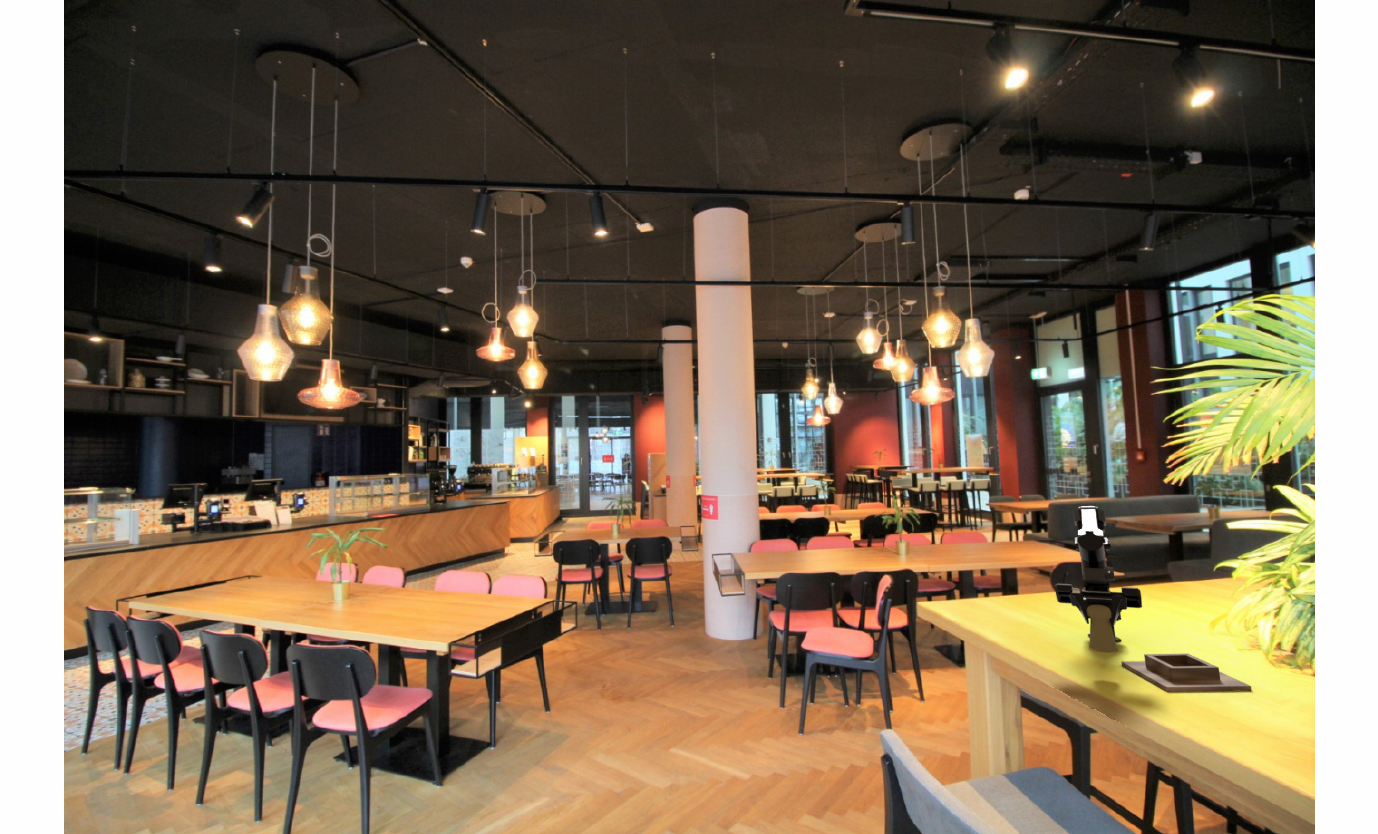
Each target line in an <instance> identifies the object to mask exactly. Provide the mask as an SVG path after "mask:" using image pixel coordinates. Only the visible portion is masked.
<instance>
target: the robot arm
mask: <svg viewBox="0 0 1378 834" xmlns="http://www.w3.org/2000/svg"><path fill="white" fill-rule="evenodd" d="M1105 512H1106V511H1104V510H1101V509H1099V508H1098V506H1093V505H1087V506H1082V505H1081V506H1078V509H1076V510H1074V511H1073V522H1074V526H1075V527H1077V537H1076V536H1075V537H1074V546H1075V547H1074V548H1075V550H1079V551H1078V552H1079V556H1080V561H1081V573H1082V576H1081V579H1082V580H1081V581H1082V587H1083V589H1081V588H1077V587H1073V585H1072V584H1069V583H1056V584H1055V585H1054V590H1055V596H1056V601H1057V603H1060V604H1071V606H1072V607H1076V608H1077V609H1078V611H1079V612H1080V613H1081V615H1082V617H1083V619H1084V621H1085V623H1086V624H1087V625H1090V621H1089V620H1090V617H1089V616H1088V614H1087V608H1088V606H1090V605H1103V606H1106V607H1108V608H1109V609H1110V611H1111V618H1110V619H1109V620H1110V623H1111V627H1112V631H1113V634H1114V638H1115V641H1116V642H1122V638H1119V637H1117V636H1116V630H1115V625H1116V622H1119V621H1121V620H1122V615H1121V614H1122V611H1123V610H1125V611H1126V610H1127V609H1128V608H1130V609H1132V608H1133V609H1141V608H1143V601H1142V593H1141V589H1139V588H1138V587H1132V586H1130V587H1128V586H1121V587H1120V588H1121V591H1120V592H1119V591H1111V590H1110V583H1109V582H1110V581H1116V577H1115V570H1114V567H1113V566H1108V565H1107V559H1106V554H1107V551H1109V550H1110V548H1112V547H1111V546H1112V545H1111V541H1110V540H1109V539H1108V537H1105V535H1104V534H1105V527H1106V526H1107V519H1106V513H1105ZM1087 636H1088V637H1089V638H1090V633H1087Z"/></svg>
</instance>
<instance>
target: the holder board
mask: <svg viewBox="0 0 1378 834" xmlns="http://www.w3.org/2000/svg"><path fill="white" fill-rule="evenodd" d="M1143 658H1144V660H1135V661H1134V660H1133V661H1132V660H1131V661H1127V660H1126V661H1121V662H1120V663H1121V666H1122V667H1124V668H1125V669H1127V670H1130V671H1131V672H1132V673H1135V675H1138V676H1140V677H1141V678H1143V679H1145V680H1147V681H1148V682H1150V683H1152V684H1154V685H1155V686H1157V687H1159V688H1161V689H1163V690H1164V691H1166V692H1221V691H1220V690H1249V691H1253V690H1252V686H1251V685H1250V684H1247V683H1246V682H1244V681H1241V680H1239V679H1237V678H1234V677H1232V676H1230V675H1228V674H1226V673H1223V672H1221V671H1220V667H1219V666H1216V665H1215V664H1212V663H1210V662H1208V661H1205V660H1203V659H1201V658H1199V657H1196V656H1194V655H1192V654H1190V653H1150V654H1149V653H1147V654H1146V653H1145V654H1144V656H1143Z"/></svg>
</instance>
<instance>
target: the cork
mask: <svg viewBox="0 0 1378 834" xmlns="http://www.w3.org/2000/svg"><path fill="white" fill-rule="evenodd" d="M1087 614H1088V616H1089V617H1090V618H1089V620H1090V621H1089V634H1090V637H1089V649H1090V650H1092V651H1095V652H1099V653H1105V654H1107V653H1113V654H1114V653H1117V652H1118V651H1119V649H1118V646H1117V641H1115V638H1114V634H1113V631H1112V627H1111V623H1110V620H1109V619H1110V618H1111V611H1110V609H1109V608H1108V607H1106V606H1103V605H1090V606H1088V608H1087Z"/></svg>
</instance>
